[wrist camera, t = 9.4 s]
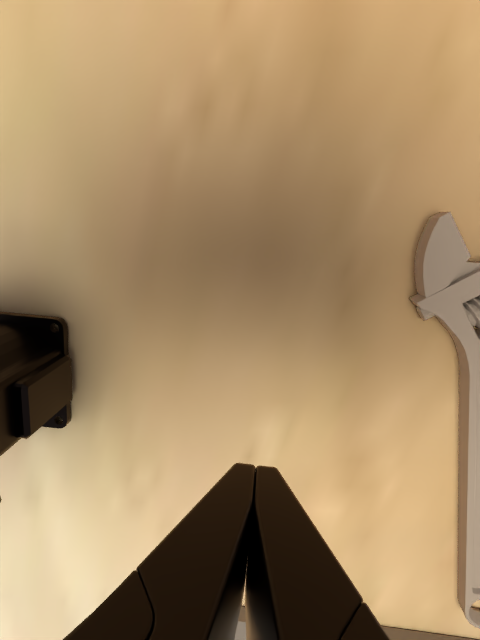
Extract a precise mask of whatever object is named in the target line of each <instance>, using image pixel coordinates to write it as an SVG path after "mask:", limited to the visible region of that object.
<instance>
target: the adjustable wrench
mask: <svg viewBox="0 0 480 640" xmlns="http://www.w3.org/2000/svg"><path fill="white" fill-rule="evenodd" d="M470 257H471V255H470V253H469V251H468V249H467V247H466V244H465V242H464V240H463V238H462V236H461V234H460V232H459V229H458V227H457V225H456V223H455V221H454V219H453V217H452V214H451V212H439V213H437V214H435V215H433V216H431V217H430V218H429V219H428V221H427V223H426V225H425V227H424V229H423V231H422V234H421V236H420V239H419V242H418V246H417V249H416V255H415V283H416V290H417V293H418V294H416V295H414V296H412V297H410V298H409V299H410V300H411V301H412V303H413V304H415V305H416V306H417V307H416V309H417V312H418V314H419V315H420V317H421V318H422V319H423V321H425V320H427V319H429V318H431V317H433V316H436V318H437V319H438V320H439V321H440V322H441V323H442V325H443V326H444V327H445V328H446V329H447V331H448V332H449V333H450V335H451V337H452V339H453V340H454V343H455V346H456V349H457V353H458V359H459V473H458V601H459V604H460V606H461V608H462V610H463V612H464V615H465V617H466V619H467V620H468V621H469V623H470V624H472V625H473V626H475V627H477V628H480V609H478V608H473V607H471V605H472V604H473V603H474V602H476V601H477V600H480V262H468V259H469V258H470ZM473 326H475V327H477V328H478V329H476V330H474V328H473Z"/></svg>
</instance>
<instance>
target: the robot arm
mask: <svg viewBox="0 0 480 640" xmlns="http://www.w3.org/2000/svg"><path fill="white" fill-rule="evenodd" d="M54 324H57V325H58V327H59V331H58V330H56V329H55V328H54ZM71 400H72V373H71V359H70V357H69V356H68V334H67V324H66V322H65V321H64V320H63V319H62V318H59V317H50V316H39V315H29V314H19V313H9V312H0V456H1V455H2V454H3V453H4V452H6V451H7V450H8V449H9V448H10V447H11V446H13V445H14V444H15V443H16V442H17V441H18V440H20V439H21V438H25V439H27V438H29V437H30V436H31V435H32V434H33V433H34V432H36V431H37V430H38V429H39V428H40V427H41V426H43V427H52V428H63V427H65V426H66V425H67V424H68V423H69V422H70V419H71V415H70V401H71ZM58 416H59V417H61V418H62V419H63V421H61V420H59V418H58ZM255 470H256V472H255ZM1 500H2V499H1V497H0V502H1ZM247 558H248V559H247ZM246 568H247V571H246ZM245 578H246V586H245ZM244 586H245V611H246V640H390V638H389V637H388V635H387V634H386V632H385V631H384V630H383V628H382V627H381V625H380V624H379V622H378V621H377V619H376V618H375V616H374V615H373V613H372V612H371V610H370V609H369V607H368V605H367V604H366V603H363V598H362V597H361V595H360V594H359V592H358V591H357V589H356V588H355V586H354V585H353V583H352V582H351V580H350V579H349V577H348V575H347V574H346V572H345V571H344V569H343V568H342V566H341V565H340V563H339V562H338V560H337V559H336V557H335V556H334V554H333V553H332V551H331V550H330V548H329V547H328V545H327V544H326V542H325V541H324V539H323V538H322V536H321V535H320V533H319V531H318V530H317V528H316V527H315V525H314V524H313V522H312V521H311V519H310V518H309V516H308V515H307V513H306V512H305V510H304V509H303V507H302V506H301V504H300V503H299V501H298V500H297V498H296V497H295V495H294V494H293V492H292V491H291V489H290V487H289V486H288V484H287V483H286V481H285V480H284V478H283V477H282V475H281V474H280V472H279V471H278V469H277V468H275V467H268V466H257V467H256V468H255V466H254V465H251V464H242V463H236V464H234V465H233V466H232V467H231V468H230V470H229V471H228V472H227V473H226V474H225V475H224V476H223V477H222V478H221V479H220V480H219V481H218V482H217V483H216V484H215V485H214V486H213V488H212V489H211V490H210V491H209V492H208V493H207V494H206V495H205V496H204V497H203V498H202V499H201V500H200V501H199V502H198V503H197V504H196V506H195V507H194V508H193V509H192V510H191V511H190V512H189V513H188V514H187V515H186V516H185V517H184V518H183V519H182V520H181V521H180V522H179V524H178V525H177V526H176V527H175V528H174V529H173V530H172V531H171V532H170V533H169V534H168V535H167V536H166V537H165V538H164V539H163V540H162V542H161V543H160V544H159V545H158V546H157V547H156V548H155V549H154V550H153V551H152V552H151V553H150V554H149V555H148V556H147V557H146V558H145V560H144V561H143V562H142V563H141V564H140V565H139V566H138V567H137V569H136V570H135V571H133V572H132V573H131V574H130V575H129V576H128V577H127V578H126V579H125V580H124V581H123V583H122V584H121V585H120V586H119V587H118V588H117V589H116V590H115V591H114V592H113V593H112V594H111V595H110V596H109V597H108V598H107V599H106V600H105V601H104V602H103V603H102V604H101V605H100V606H99V607H98V608H97V609H96V610H95V611H94V612H93V613H92V614H91V615H89V616H88V617H87V618H86V619H85V620H84V621H83V622H82V623H81V624H79V625H78V626H77V627H76V628H75V629H74V630H73V631H72V632H71V633H69V634H68V635H67V636H66V637H65V638H64V639H63V640H234V639H235V634H236V629H237V624H238V619H239V614H240V609H241V604H242V599H243V593H244Z"/></svg>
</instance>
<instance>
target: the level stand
mask: <svg viewBox="0 0 480 640" xmlns="http://www.w3.org/2000/svg"><path fill="white" fill-rule="evenodd" d="M381 627H382V628H383V630H384V631H385V632H386V634H387V635H388V637H389V638H390V640H476V639H469V638H462V637H455V636H448V635H441V634H434V633H427V632H420V631H413V630H406V629H399V628H392V627H384V626H381ZM234 640H246V611H245V607H244V606H241V609H240V614H239V619H238V624H237V629H236V634H235V639H234Z"/></svg>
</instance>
